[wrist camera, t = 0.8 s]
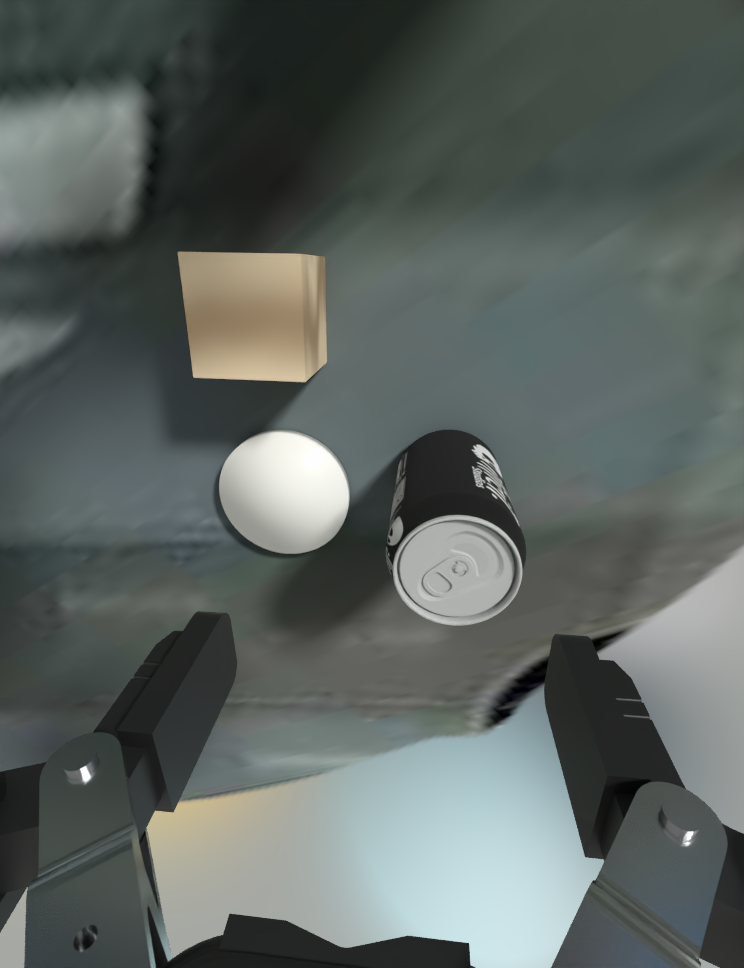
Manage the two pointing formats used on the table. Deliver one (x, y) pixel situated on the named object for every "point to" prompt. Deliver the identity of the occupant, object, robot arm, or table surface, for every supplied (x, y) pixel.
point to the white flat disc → (285, 491)
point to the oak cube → (255, 314)
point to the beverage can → (453, 531)
